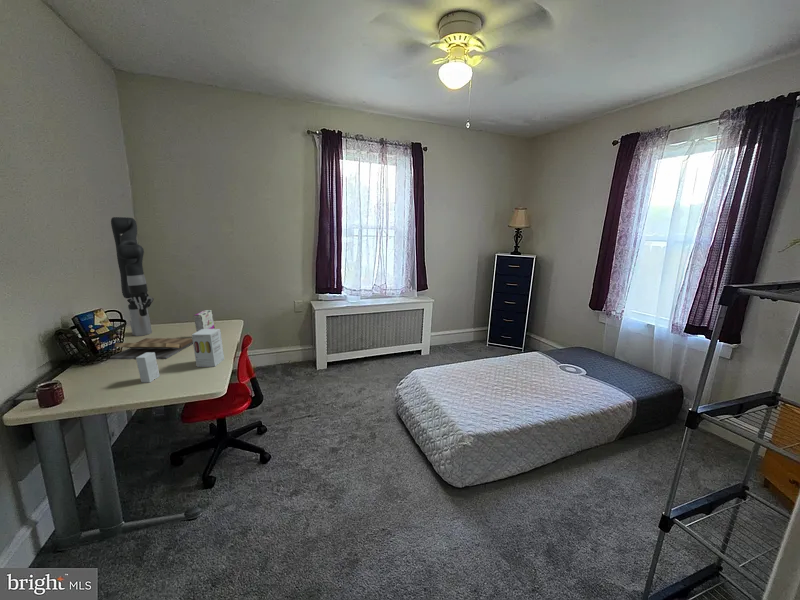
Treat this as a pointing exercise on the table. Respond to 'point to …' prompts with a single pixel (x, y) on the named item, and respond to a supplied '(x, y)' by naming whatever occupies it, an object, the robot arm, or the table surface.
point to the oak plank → (147, 345)
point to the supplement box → (208, 347)
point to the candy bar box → (204, 320)
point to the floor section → (159, 352)
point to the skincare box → (147, 367)
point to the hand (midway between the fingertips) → (143, 315)
